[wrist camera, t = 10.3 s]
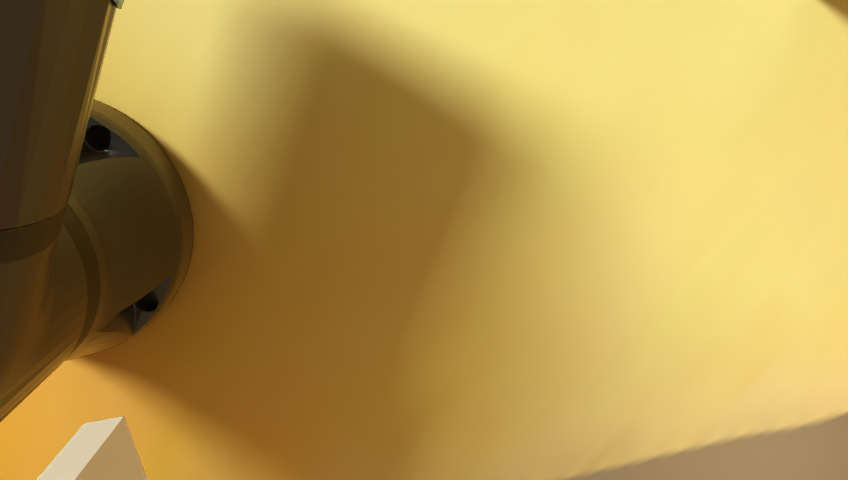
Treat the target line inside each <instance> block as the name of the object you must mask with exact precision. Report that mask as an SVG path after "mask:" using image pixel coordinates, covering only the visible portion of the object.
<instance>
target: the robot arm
mask: <svg viewBox="0 0 848 480" xmlns="http://www.w3.org/2000/svg"><path fill="white" fill-rule="evenodd" d="M123 2H124V0H0V422H1V421H2V420H3V419H4V418H5V417H6V416H7V415H9V414H10V413H11V412H12V411H13V410H14V409H15V408H16V407H17V406H18V405H19V404H20V403H21V402H22V401H23V400H24V399H25V398H26V397H27V396H28V395H29V394H31V393H32V392H33V391H34V390H35V389H36V388H37V387H38V386H39V385H40V384H41V383H42V382H43V381H44V380H45V379H46V378H47V377H48V376H49V375H50V374H51V373H52V372H54V371H55V370H56V369H57V368H58V367H59V366H60V365H61V364H62V363H63V362H64V361H67V360H70V359H74V358H78V357H81V356H85V355H89V354H92V353H96V352H100V351H103V350H106V349H109V348H112V347H114V346H116V345H119V344H121V343H122V342H124V341H126V340H128V339H130V338H131V337H133V336H134V335H136V334H137V333H139V332H140V331H141V330H143V329H144V328H145V327H146V326H147V325H149V324H150V323H151V322H152V321H153V320H154V319H155V318H156V316H157V315H158V314H159V313H160V312H161V311H162V310H163V309H164V308H165V307H166V306H167V305H168V304H169V302H170V301H171V300H172V298H173V297H174V296H175V294H176V293H177V291H178V289H179V288H180V286H181V284H182V282H183V280H184V277H185V275H186V272H187V269H188V266H189V263H190V259H191V253H192V246H193V222H192V215H191V209H190V205H189V201H188V197H187V194H186V191H185V189H184V186H183V183H182V181H181V179H180V177H179V175H178V173H177V171H176V169H175V168H174V166H173V164H172V163H171V161H170V159H169V158H168V156H167V155H166V154H165V152H164V151H163V150H162V148H161V147H160V146H159V145H158V144H157V143H156V141H155V140H154V139H153V138H152V137H151V136H150V135H149V134H148V133H147V132H146V131H145V130H143V129H142V128H141V127H140V126H139V125H138V124H136V123H135V122H134V121H132V120H131V119H130V118H128V117H127V116H125V115H124V114H122V113H121V112H119V111H117V110H116V109H114V108H112V107H110V106H108V105H106V104H104V103H101V102H99V101H97V100H94V97H95V93H96V89H97V85H98V80H99V76H100V72H101V68H102V64H103V60H104V56H105V52H106V48H107V44H108V40H109V36H110V32H111V27H112V23H113V19H114V15H115V11H116V8H120V9H121V8H122V5H123ZM36 480H147V477H146V474H145V472H144V469H143V466H142V464H141V461H140V458H139V455H138V453H137V450H136V447H135V445H134V442H133V439H132V436H131V434H130V431H129V428H128V426H127V423H126V420H125V417H124V416H122V417H116V418H111V419H106V420H100V421H95V422H89V423H84V424H83V426H82V427H81V428H80V429H79V430H78V431H77V433H76V434H75V435H74V436H73V437H72V438H71V440H70V441H69V442H68V443H67V444H66V445H65V447H64V448H63V449H62V450H61V451H60V452H59V454H58V455H57V456H56V457H55V458H54V459H53V461H52V462H51V463H50V464H49V465H48V467H47V468H46V469H45V470H44V471H43V472H42V474H41V475H40V476H39V477H38V478H37V479H36Z"/></svg>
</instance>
